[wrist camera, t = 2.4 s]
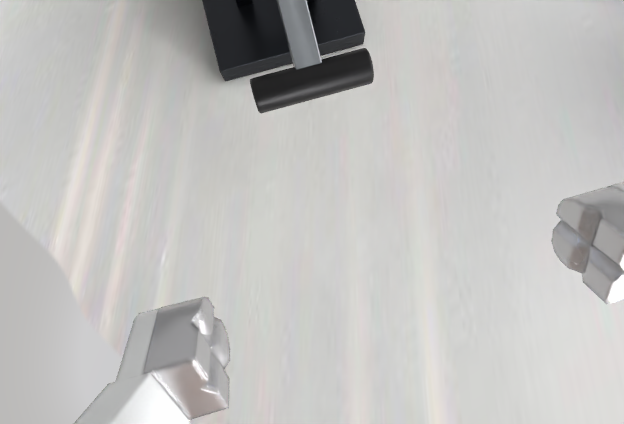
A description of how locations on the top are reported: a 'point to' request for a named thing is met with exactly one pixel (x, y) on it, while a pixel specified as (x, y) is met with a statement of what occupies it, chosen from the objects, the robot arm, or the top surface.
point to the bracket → (274, 32)
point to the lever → (308, 65)
